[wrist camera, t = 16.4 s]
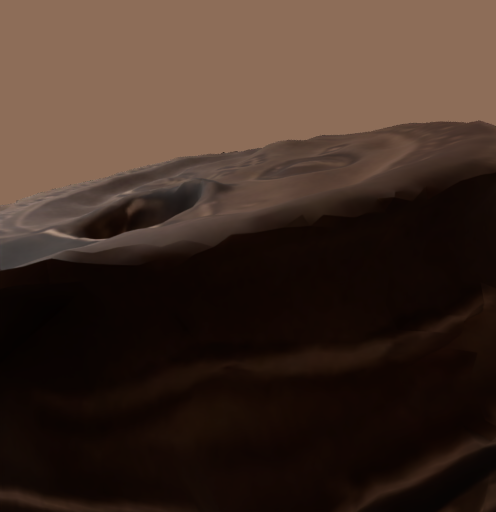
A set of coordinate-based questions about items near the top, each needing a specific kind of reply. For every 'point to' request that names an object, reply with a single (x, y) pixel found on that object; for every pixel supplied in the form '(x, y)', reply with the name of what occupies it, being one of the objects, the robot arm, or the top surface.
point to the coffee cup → (257, 331)
